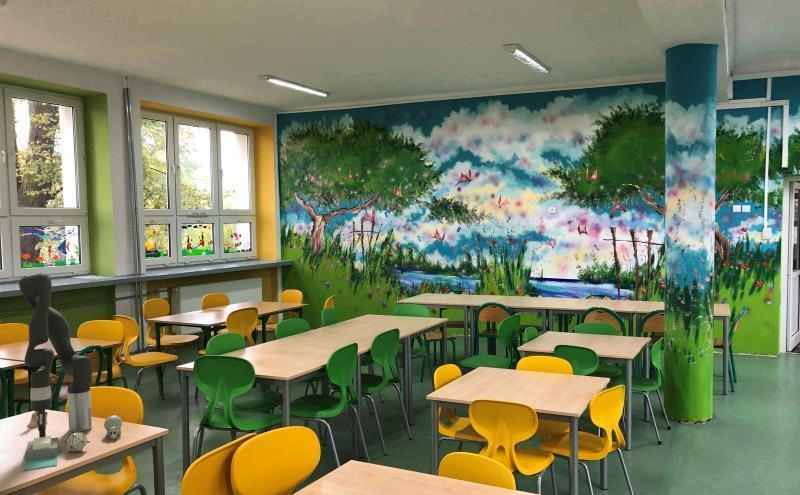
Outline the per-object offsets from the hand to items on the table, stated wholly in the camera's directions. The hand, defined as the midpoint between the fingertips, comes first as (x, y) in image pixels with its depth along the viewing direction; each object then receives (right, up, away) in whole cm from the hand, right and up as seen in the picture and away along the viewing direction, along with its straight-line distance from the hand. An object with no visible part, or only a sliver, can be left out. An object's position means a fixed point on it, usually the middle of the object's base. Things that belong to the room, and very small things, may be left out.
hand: (42, 439), depth 269 cm
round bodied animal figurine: (+22, -4, +16) cm, 28 cm away
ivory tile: (+3, -1, -6) cm, 7 cm away
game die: (+15, -5, -2) cm, 16 cm away
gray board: (+3, -5, -5) cm, 7 cm away
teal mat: (+8, -5, -16) cm, 18 cm away
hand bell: (-21, -4, +35) cm, 41 cm away
